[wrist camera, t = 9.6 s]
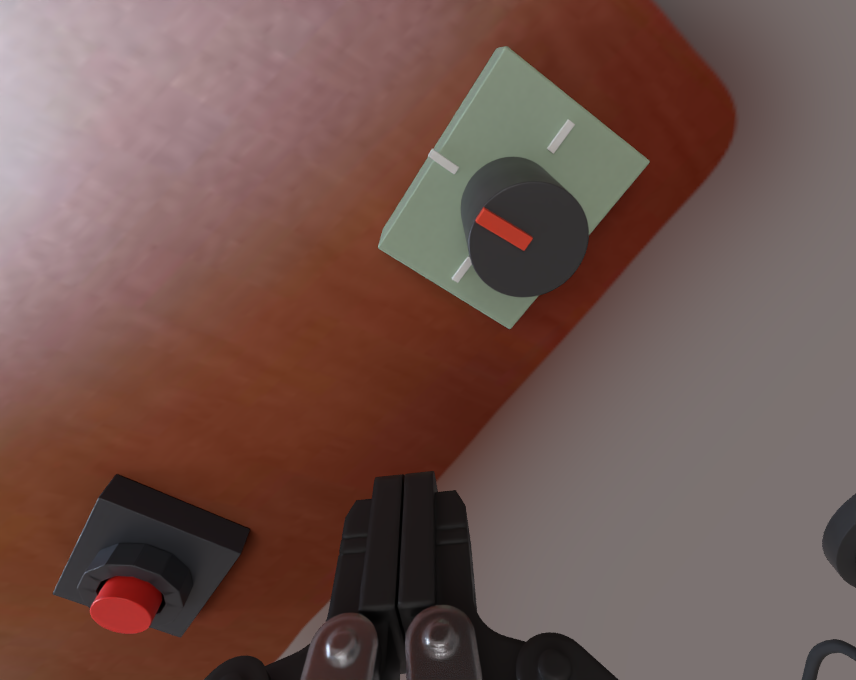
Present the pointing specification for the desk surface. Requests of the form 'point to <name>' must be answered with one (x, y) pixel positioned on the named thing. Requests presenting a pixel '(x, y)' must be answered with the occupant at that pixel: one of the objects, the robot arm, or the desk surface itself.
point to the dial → (522, 228)
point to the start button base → (152, 551)
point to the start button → (126, 605)
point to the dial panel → (497, 138)
